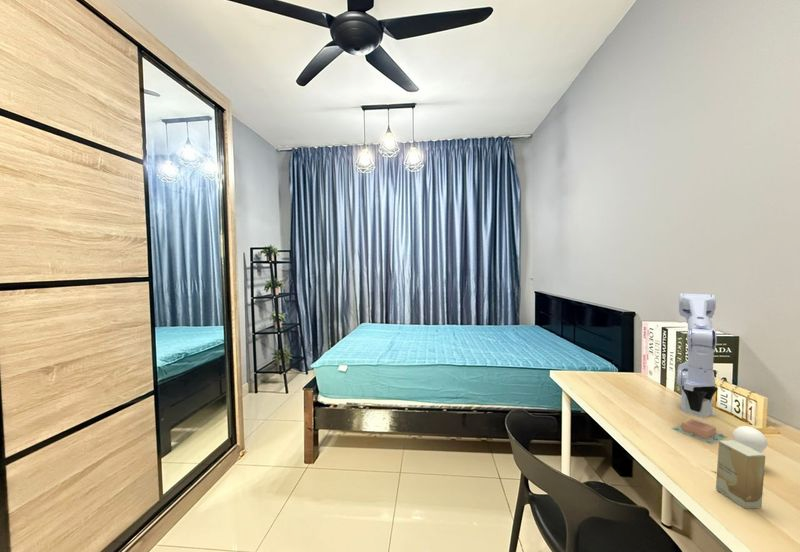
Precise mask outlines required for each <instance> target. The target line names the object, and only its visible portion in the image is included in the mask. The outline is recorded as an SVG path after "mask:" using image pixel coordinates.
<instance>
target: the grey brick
mask: <svg viewBox="0 0 800 552" xmlns="http://www.w3.org/2000/svg"><path fill="white" fill-rule="evenodd" d="M684 413H685V414H688V415H690V416H691V415H692V416H693V417H694V416H695V417H696V418H701V419H705V418H707V417H709V416H711V415H710V400H708V399H705V398H704V399H703V401H702V406H701V410H700V412H697V411H694V410H691V409H690V406H689V402H688V399H687V397H685V412H684Z"/></svg>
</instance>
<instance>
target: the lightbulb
mask: <svg viewBox="0 0 800 552" xmlns="http://www.w3.org/2000/svg"><path fill="white" fill-rule="evenodd" d="M732 437H733V440H735V441H737V442H739V443H741V444H743V445H745V446H748V447H750V448H752V449H753V450H755V451H757V452H759V453H761V454H762V453H763V451H765V450H766V449H767V447H768V440H767V438H766V437H765V435H764V434H763V433H762V432H761V431H760V430H759V429H756V428H755V427H751V426H748V425H747V426H746V425H741V426H737V427H736V428H735V429H734V430H733V432H732Z"/></svg>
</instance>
